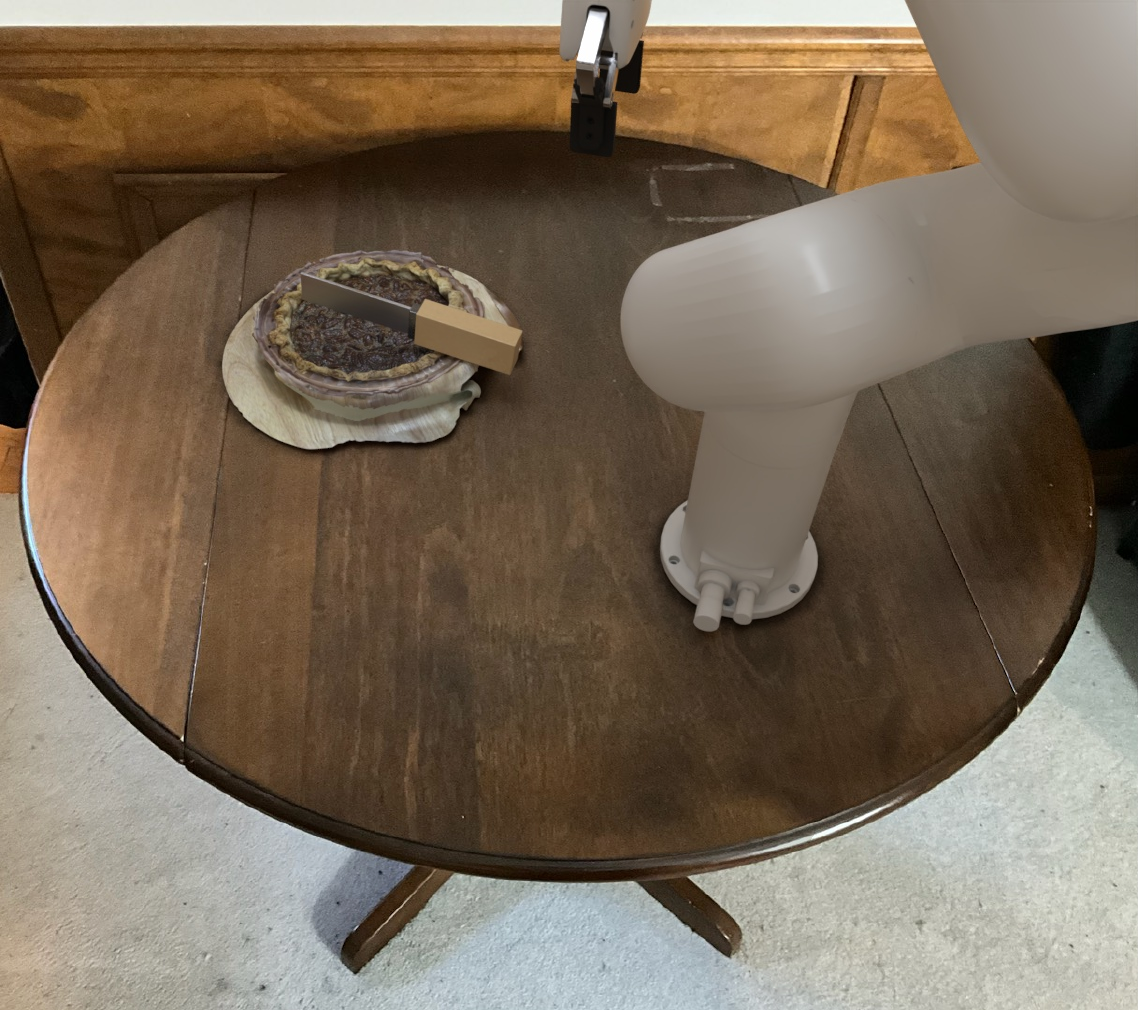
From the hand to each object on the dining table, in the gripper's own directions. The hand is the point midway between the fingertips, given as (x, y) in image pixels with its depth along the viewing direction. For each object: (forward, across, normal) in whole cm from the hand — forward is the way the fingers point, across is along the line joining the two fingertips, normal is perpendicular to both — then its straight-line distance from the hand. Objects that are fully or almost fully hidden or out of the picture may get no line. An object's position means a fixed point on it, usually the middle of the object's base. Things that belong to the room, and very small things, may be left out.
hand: (605, 120), depth 79 cm
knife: (+20, +5, -15) cm, 26 cm away
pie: (+26, +2, -20) cm, 33 cm away
